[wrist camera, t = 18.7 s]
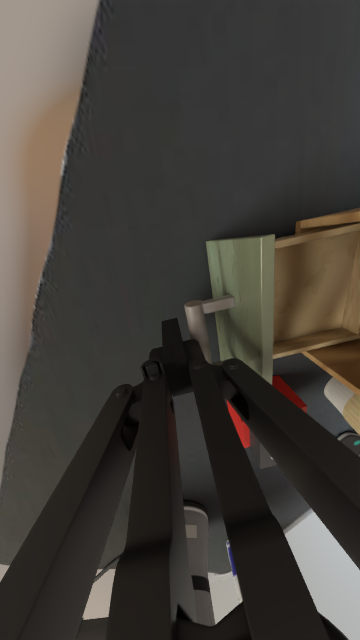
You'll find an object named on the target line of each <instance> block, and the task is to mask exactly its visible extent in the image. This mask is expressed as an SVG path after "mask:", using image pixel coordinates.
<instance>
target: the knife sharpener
mask: <svg viewBox="0 0 360 640" xmlns="http://www.w3.org/2000/svg"><path fill="white" fill-rule="evenodd" d="M272 386H274V387H275V388H276V389H277V390H278V391H280V392H281V393H282V394H283V395H285V396H286V397H287V398H288V399H289V400H291V401H292V402H293V403H294V404H296V405H297V406H298V407H299V408H300V409H302V410H303V411H304V412H305V413H306V411H307V405H306V404H305V403H304V402H303V401H302V400H301V399H300V398H299V397H298V396H297V395H296V394H295V392H294V391H293V390H292V389H291V388H290V387H289V386H288V385H287V384H286V383H285V382H284V381H283V379H282V378H281V377H280V376H279V375H276V376H272ZM227 404H228V410H229V413H230V415H231V418H232V420H233V423H234V425H235V427H236V430H237V432H238V435H239V437H240V439H241V442H242V444H243V447H244V448H246V447H250V448H251V450H252V452H253V454H254V456H255V459H256V461H257V463H258V465H259V467H260V469H263V468H267V467H271V466H275V465H277V464H276V462H275V461H274V460H273V458H272V457H271V456H270V455H269V453H268V452H267V451H266V449H265V448H264V447H263V446H262V444H261V443H260V442H259V441H258V439H257V438H256V437H255V435H254V434H253V433H252V432H251V430H250V429H249V428H248V426H247V425H246V424H245V423H244V421H243V420H242V419H241V418H240V416H239V415H238V414H237V412H236V411H235V410H234V409H233V407H232V406H231V405H230V403H229V402H228V401H227Z"/></svg>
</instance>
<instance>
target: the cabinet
mask: <svg viewBox="0 0 360 640" xmlns="http://www.w3.org/2000/svg"><path fill="white" fill-rule="evenodd" d="M352 222H360V208H356V209H352V210H347V211H342V212H338V213H333V214H329V215H324V216H320V217H315V218H310V219H306V220H301V221H297V222H296V228H295V234H299V233H304V232H308V231H313V230H318V229H322V228H327V227H331V226H336V225H340V224H345V223H352ZM301 353H302V354H304V355H305V356H306V357H308V358H309V359H310V360H312V361H313V362H314V363H316V364H317V365H318V366H320V367H321V368H322V369H324V370H325V371H326V372H328V373H329V374H330V375H332V376H333V377H334V378H336V379H337V380H338V381H340V382H341V383H342V384H344V385H345V386H346V387H348V388H349V389H350V390H352V391H353V392H354V393H356V394H357V395H358V396H360V338H359V339H355V340H351V341H346V342H342V343H338V344H334V345H330V346H325V347H321V348H317V349H313V350H309V351H304V352H301Z"/></svg>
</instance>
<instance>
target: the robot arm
mask: <svg viewBox="0 0 360 640" xmlns="http://www.w3.org/2000/svg"><path fill="white" fill-rule="evenodd" d="M162 343H163V347H160V348H155V349H152V351H151V352H150V355H149V360H148V361H146V362H145V363H144V364H143V365H142V366H141V368H140V369H141V371H142V374H143V377H144V381H143V382H142V383H140V384H139V385H137V386H135V387H133V388H132V386H131V385H130V384H124V385H121V386H119V387H117V388H116V389H114V391H113V392H112V393H111V395H110V397H109V398H108V400H107V402H106V403H105V405H104V407H103V408H102V410H101V412H100V414H99V415H98V417H97V419H96V420H95V422H94V424H93V425H92V427H91V429H90V431H89V432H88V434H87V436H86V437H85V439H84V441H83V442H82V444H81V446H80V448H79V449H78V451H77V453H76V454H75V456H74V458H73V459H72V461H71V463H70V465H69V466H68V468H67V470H66V471H65V473H64V475H63V476H62V478H61V480H60V482H59V483H58V485H57V487H56V488H55V490H54V492H53V493H52V495H51V497H50V499H49V500H48V502H47V504H46V505H45V507H44V509H43V510H42V512H41V514H40V516H39V517H38V519H37V521H36V522H35V524H34V526H33V527H32V529H31V531H30V533H29V534H28V536H27V538H26V539H25V541H24V543H23V544H22V546H21V548H20V550H19V551H18V553H17V555H16V556H15V558H14V560H13V561H12V563H11V565H10V567H9V568H8V570H7V572H6V573H5V575H4V577H3V579H2V580H1V582H0V640H348V638H347V637H346V636H345V635H344V634H343V633H342V632H341V631H340V630H339V629H338V628H336V627H335V626H334V625H333V624H332V623H331V622H330V621H329V620H328V619H326V618H325V617H324V616H322V615H321V614H320V613H319V612H318V611H317V609H316V606H315V604H314V602H313V599H312V597H311V595H310V592H309V590H308V588H307V586H306V583H305V581H304V579H303V576H302V574H301V572H300V569H299V567H298V565H297V562H296V560H295V558H294V555H293V553H292V551H291V548H290V546H289V544H288V541H287V539H286V537H285V535H284V533H283V530H282V528H281V526H280V524H279V523H278V521H277V519H276V518H275V517H274V515H273V514H272V513H271V511H270V509H269V507H268V504H267V502H266V500H265V497H264V495H263V492H262V490H261V488H260V485H259V483H258V480H257V478H256V476H255V473H254V471H253V468H252V466H251V463H250V461H249V459H248V456H247V454H246V451H245V449H244V447H243V444H242V442H241V439H240V437H239V435H238V432H237V430H236V427H235V425H234V423H233V420H232V418H231V415H230V413H229V410H228V408H227V406H226V403H225V401H224V399H227V401H228V402H229V403H230V405H231V406H232V407H233V409H234V410H235V411H236V412H237V414H238V415H239V416H240V418H241V419H242V420H243V421H244V423H245V424H246V425H247V426H248V428H249V429H250V430H251V432H252V433H253V434H254V435H255V437H256V438H257V439H258V441H259V442H260V443H261V444H262V446H263V447H264V448H265V449H266V451H267V452H268V453H269V455H270V456H271V457H272V458H273V460H274V461H275V462H276V464H277V465H278V466H279V467H280V469H281V470H282V471H283V472H284V474H285V475H286V476H287V478H288V479H289V480H290V481H291V483H292V484H293V485H294V486H295V488H296V489H297V490H298V492H299V493H300V494H301V495H302V497H303V498H304V499H305V501H306V502H307V503H308V504H309V506H310V507H311V508H312V509H313V511H314V512H315V513H316V515H317V516H318V517H319V518H320V519H321V521H322V522H323V524H324V525H325V526H326V527H327V529H329V531H330V532H331V534H332V535H333V536H334V538H335V539H336V540H337V541H338V543H339V544H340V545H341V546H342V548H343V549H344V550H345V552H346V553H347V554H348V555H349V557H350V558H351V559H352V561H353V562H354V563H355V564H356V566H357V567H358V568H359V569H360V457H359V456H358V455H357V454H355V453H354V452H353V451H352V450H350V449H349V448H348V447H347V446H346V445H344V444H343V443H342V442H341V441H339V440H338V439H337V438H336V437H335V436H333V435H332V434H331V433H330V432H328V431H327V430H326V429H325V428H324V427H322V426H321V425H320V424H319V423H318V422H316V421H315V420H314V419H313V418H311V417H310V416H309V415H308V414H307V413H305V412H304V411H303V410H302V409H300V408H299V407H298V406H297V405H296V404H294V403H293V402H292V401H291V400H289V399H288V398H287V397H286V396H285V395H283V394H282V393H281V392H280V391H278V390H277V389H276V388H275V387H274V386H272V385H271V384H270V383H269V382H267V381H266V380H265V379H264V378H263V377H261V376H260V375H259V374H258V373H256V372H255V371H254V370H253V369H252V368H250V367H249V366H248V365H247V364H246V363H244V362H243V361H242V360H240V359H236V358H230V359H227V360H225V361H224V362H223V363H222V365H212V364H210V363H208V361H206V359H205V356H204V354H203V352H202V349H201V347H200V344H199V342H198V341H197V340H196V339H192V340H187V341H182V337H181V332H180V328H179V324H178V320H177V318H175V319H170V320H166V321H162ZM190 392H194V394H195V398H196V403H197V407H198V411H199V416H200V420H201V424H202V429H203V433H204V437H205V441H206V446H207V450H208V454H209V459H210V463H211V467H212V471H213V476H214V480H215V484H216V489H217V493H218V497H219V501H220V506H221V510H222V514H223V519H224V523H225V527H226V532H227V536H228V540H229V544H230V549H231V553H232V557H233V562H234V566H235V570H236V574H237V579H238V583H239V587H240V592H241V596H242V600H243V601H242V602H241V603H240V604H239V605H238V606H237V607H235V608H234V609H233V610H232V611H231V612H230V613H229V614H228V615H226V616H225V617H224V618H223V619H222V620H221V621H219V622H218V623H217V624H216V625H215V620H214V613H213V607H212V601H211V594H210V587H209V580H208V572H207V565H208V531H209V525H208V517H207V512H206V509H205V508H204V507H203V506H201V505H199V504H197V503H194V502H187V501H183V494H182V484H181V473H180V463H179V452H178V441H177V431H176V420H175V410H174V402H173V399H172V395H173V397H174V396H178V395H182V394H186V393H190ZM136 448H137V449H136ZM135 451H136V458H135V468H134V477H133V486H132V495H131V504H130V513H129V522H128V531H127V540H126V546H125V550H124V552H123V554H122V555H121V556H120V557H118V558H117V559H115V560H114V561H113V562H111V563H110V564H109V565H108V566H107V567H105V568H104V569H103V570H102V571H101V572H100V573H99V574H98V575H97V576H96V573H97V570H98V566H99V563H100V560H101V557H102V554H103V551H104V548H105V545H106V541H107V538H108V535H109V532H110V529H111V526H112V523H113V520H114V516H115V513H116V510H117V507H118V504H119V501H120V498H121V495H122V491H123V488H124V485H125V482H126V479H127V476H128V473H129V470H130V466H131V463H132V460H133V457H134V454H135ZM117 563H118V564H117ZM116 564H117V567H116V570H115V576H114V582H113V587H112V595H111V602H110V610H109V617H106V618H98V619H89V620H83V618H82V616H83V613H84V610H85V607H86V604H87V601H88V598H89V595H90V591H91V588H92V585H93V583H94V582H95V581H97V580H98V579H99V578H100V577H101V576H102V575H103V574H104V573H105V572H107V571H108V570H109V569H110V568H111V567H113V566H114V565H116ZM95 576H96V577H95Z"/></svg>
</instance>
